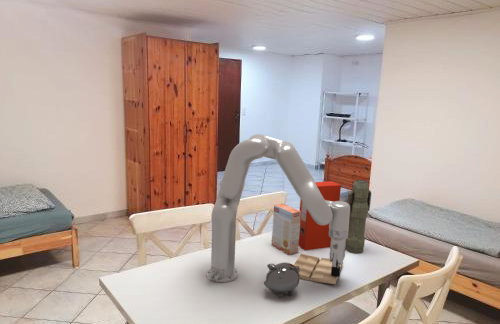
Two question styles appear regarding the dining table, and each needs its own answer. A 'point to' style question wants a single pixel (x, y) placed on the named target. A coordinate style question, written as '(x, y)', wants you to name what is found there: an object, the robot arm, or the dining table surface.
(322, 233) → the file binder
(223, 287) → the dining table surface
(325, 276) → the board
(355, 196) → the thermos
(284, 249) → the cracker box
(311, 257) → the laid planks
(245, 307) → the dining table surface
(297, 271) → the piggy bank
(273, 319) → the dining table surface
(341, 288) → the dining table surface
